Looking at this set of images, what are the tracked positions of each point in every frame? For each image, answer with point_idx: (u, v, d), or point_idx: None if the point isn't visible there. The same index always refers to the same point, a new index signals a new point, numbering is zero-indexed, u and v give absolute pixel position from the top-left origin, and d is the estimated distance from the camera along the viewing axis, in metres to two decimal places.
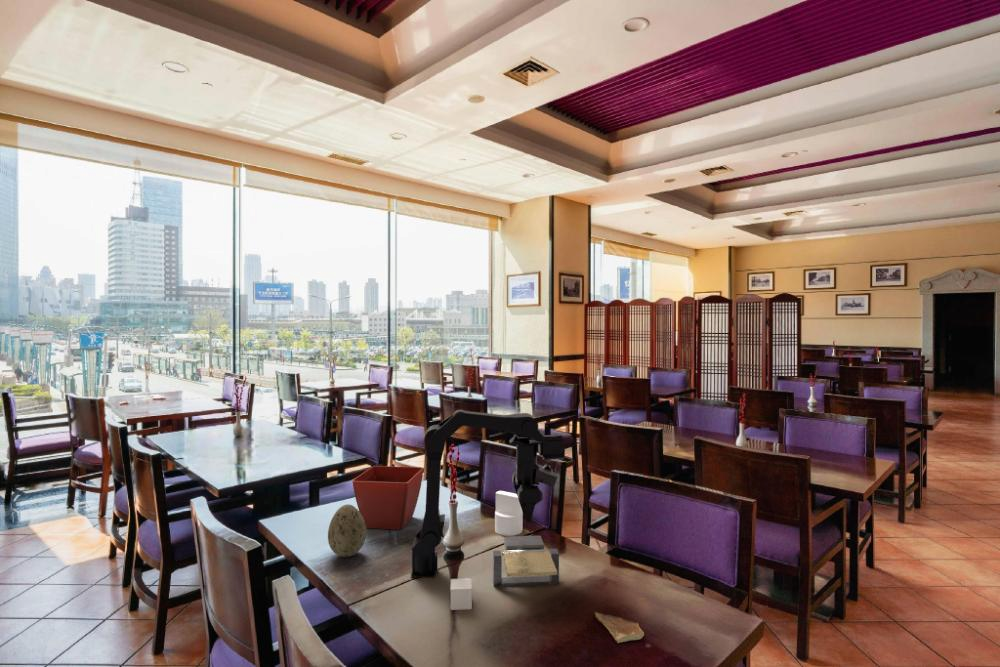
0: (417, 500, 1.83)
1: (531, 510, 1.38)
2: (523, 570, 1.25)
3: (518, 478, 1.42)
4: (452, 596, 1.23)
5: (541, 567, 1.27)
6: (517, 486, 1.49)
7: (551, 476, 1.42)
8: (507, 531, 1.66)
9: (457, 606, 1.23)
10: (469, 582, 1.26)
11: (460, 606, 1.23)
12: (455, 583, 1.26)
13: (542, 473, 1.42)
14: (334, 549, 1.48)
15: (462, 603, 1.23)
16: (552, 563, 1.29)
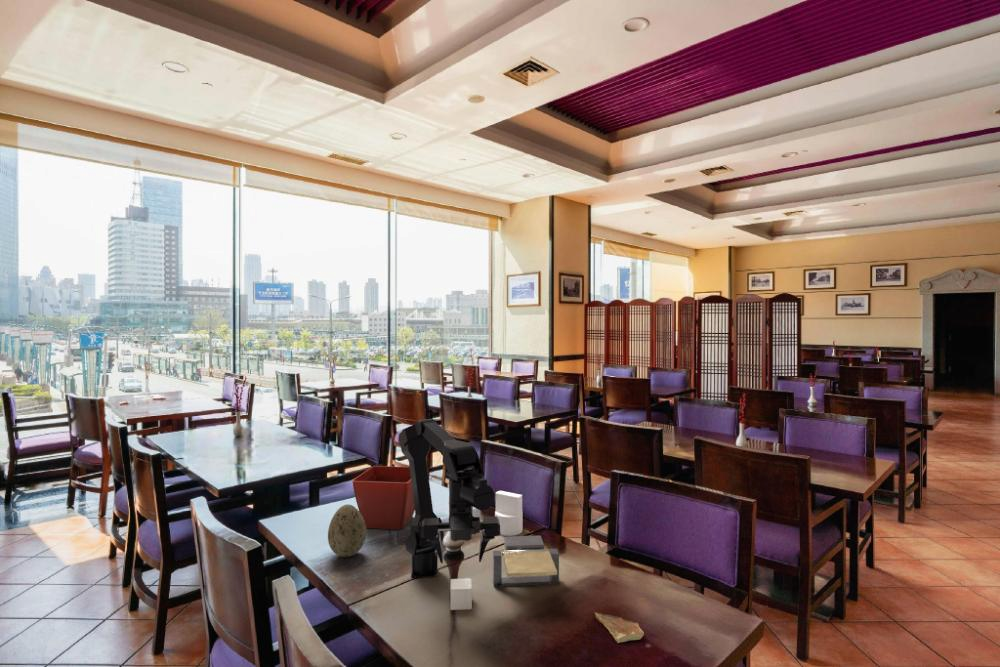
0: None
1: None
2: (523, 570, 1.25)
3: None
4: (452, 596, 1.23)
5: (541, 567, 1.27)
6: (481, 530, 1.28)
7: (450, 525, 1.19)
8: (507, 531, 1.66)
9: (457, 606, 1.23)
10: (469, 582, 1.26)
11: (460, 606, 1.23)
12: (455, 583, 1.26)
13: None
14: (334, 549, 1.48)
15: (462, 603, 1.23)
16: (552, 563, 1.29)
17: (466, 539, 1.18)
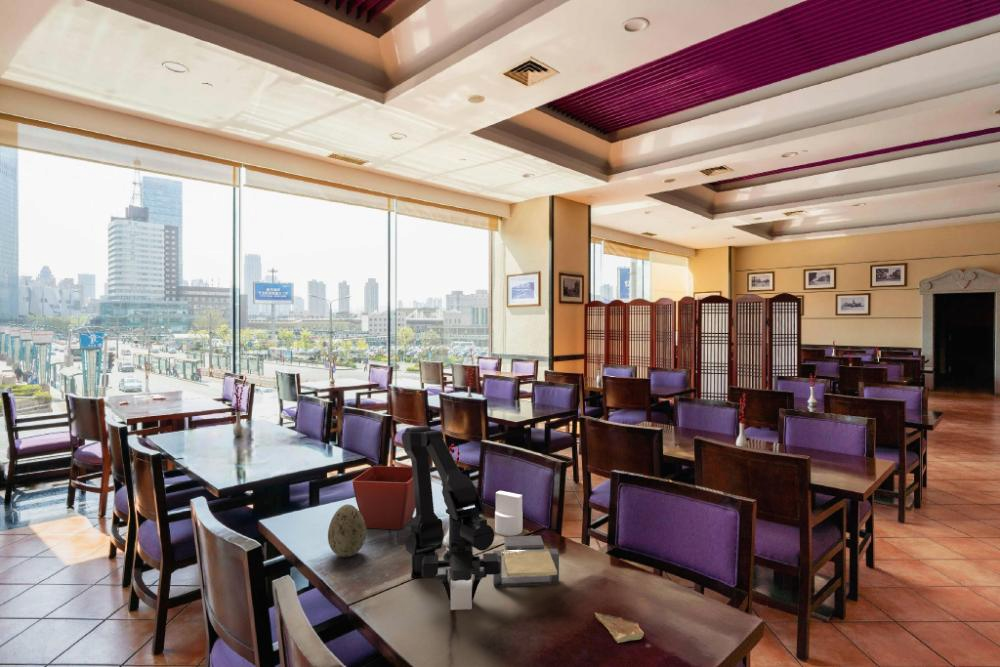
0: None
1: None
2: (523, 570, 1.25)
3: None
4: (452, 596, 1.23)
5: (541, 567, 1.27)
6: None
7: (450, 565, 1.19)
8: (507, 531, 1.66)
9: (457, 605, 1.23)
10: (469, 582, 1.26)
11: (460, 606, 1.23)
12: (455, 583, 1.26)
13: None
14: (334, 549, 1.48)
15: (462, 602, 1.23)
16: (552, 563, 1.29)
17: (466, 579, 1.18)
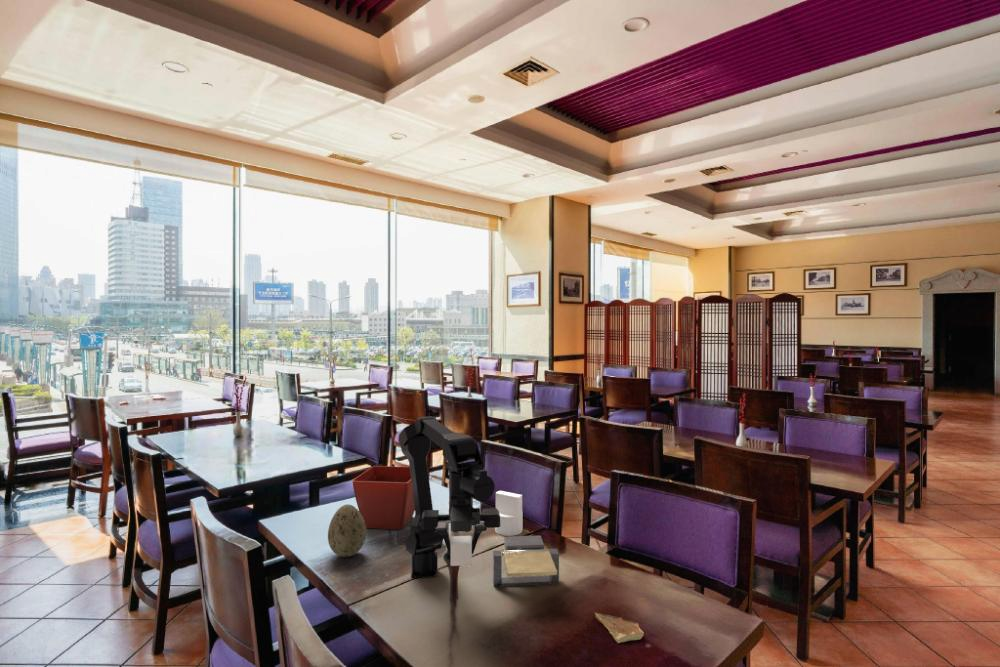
0: None
1: None
2: (523, 570, 1.25)
3: None
4: (452, 551, 1.23)
5: (541, 567, 1.27)
6: None
7: (450, 516, 1.19)
8: (507, 531, 1.66)
9: (457, 561, 1.23)
10: (469, 539, 1.26)
11: (460, 562, 1.23)
12: (455, 539, 1.26)
13: (451, 509, 1.21)
14: (334, 549, 1.48)
15: (462, 558, 1.23)
16: (552, 563, 1.29)
17: (466, 530, 1.18)
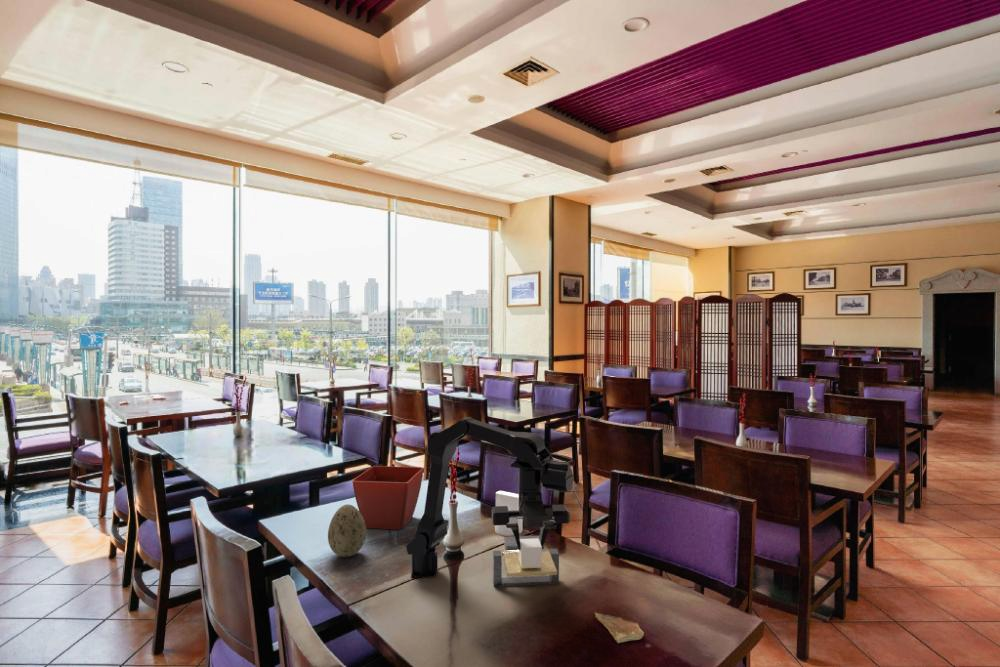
0: (417, 500, 1.83)
1: None
2: (523, 570, 1.25)
3: None
4: (523, 554, 1.25)
5: (541, 567, 1.27)
6: None
7: (524, 512, 1.21)
8: (507, 531, 1.66)
9: (527, 564, 1.25)
10: (538, 541, 1.28)
11: (530, 564, 1.25)
12: (524, 542, 1.28)
13: (523, 505, 1.23)
14: (334, 549, 1.48)
15: (532, 561, 1.25)
16: (552, 563, 1.29)
17: (540, 526, 1.20)
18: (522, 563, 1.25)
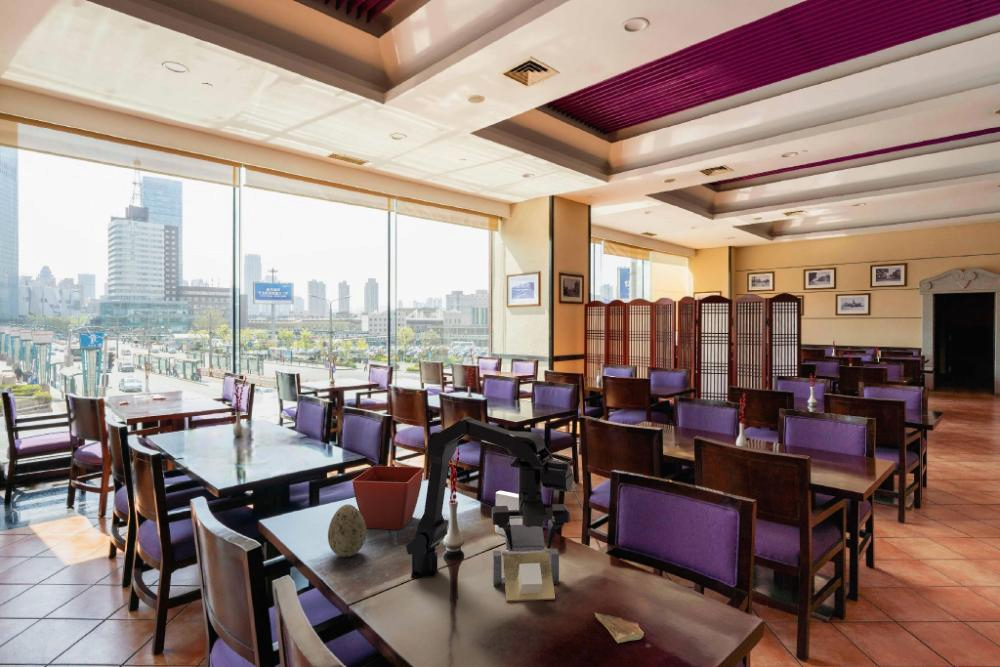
0: (417, 500, 1.83)
1: None
2: (522, 593, 1.27)
3: None
4: (522, 587, 1.25)
5: None
6: None
7: (524, 512, 1.21)
8: None
9: (526, 591, 1.27)
10: (538, 571, 1.27)
11: (529, 591, 1.27)
12: (525, 572, 1.26)
13: (523, 504, 1.23)
14: (334, 549, 1.48)
15: (531, 590, 1.27)
16: (551, 580, 1.30)
17: (540, 525, 1.20)
18: (521, 591, 1.27)
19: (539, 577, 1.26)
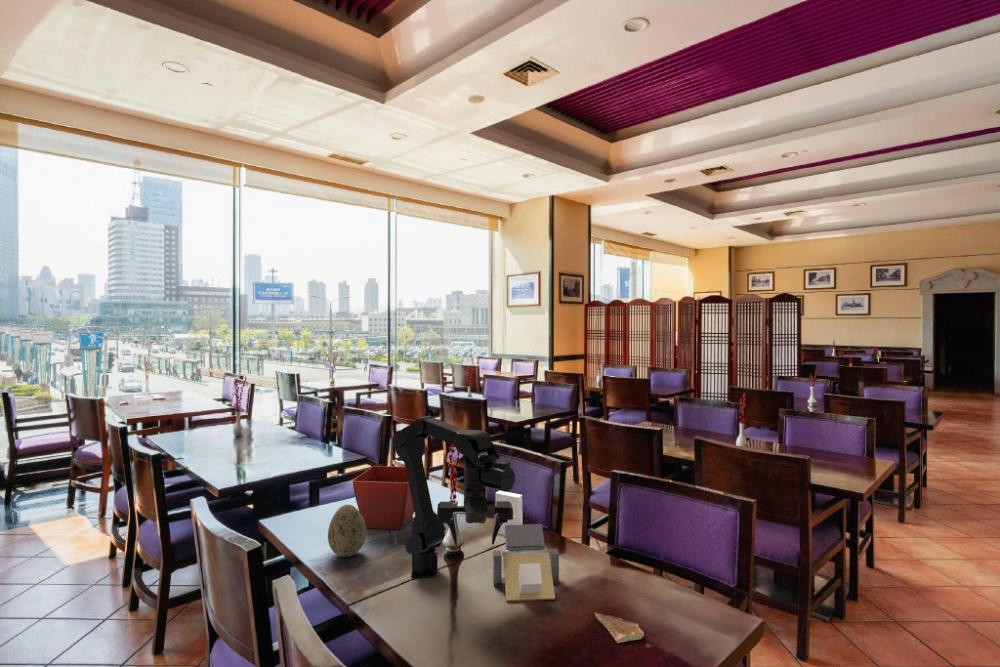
0: None
1: None
2: (522, 593, 1.27)
3: None
4: (522, 587, 1.25)
5: None
6: (494, 514, 1.32)
7: (465, 508, 1.23)
8: None
9: (526, 591, 1.27)
10: (538, 571, 1.27)
11: (529, 591, 1.27)
12: (525, 572, 1.26)
13: (466, 501, 1.26)
14: (334, 549, 1.48)
15: (531, 590, 1.27)
16: (551, 580, 1.30)
17: (481, 522, 1.22)
18: (521, 591, 1.27)
19: (539, 577, 1.26)
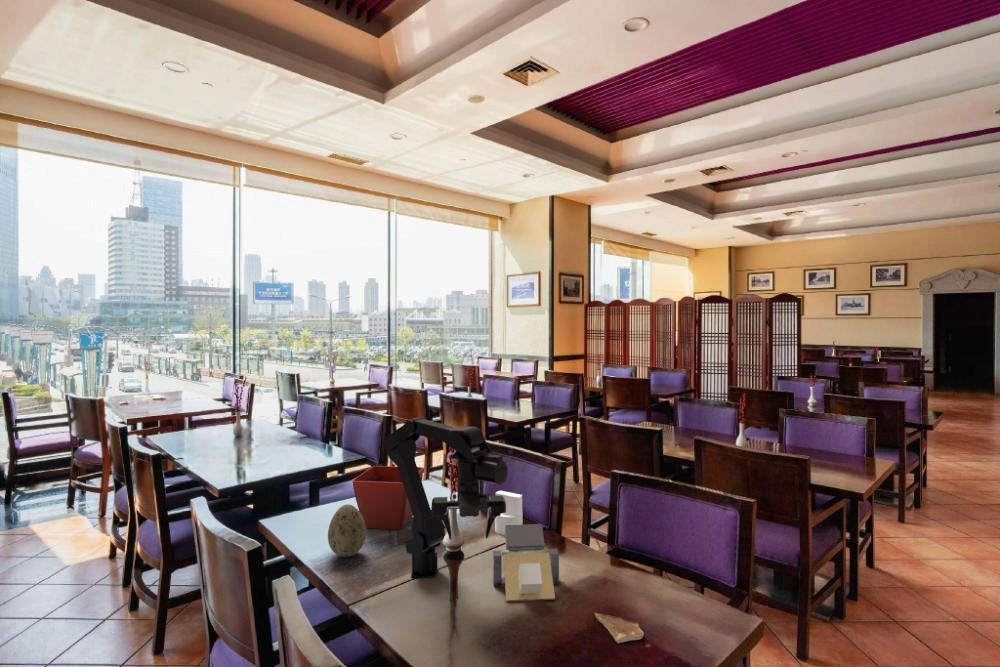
0: None
1: None
2: (522, 593, 1.27)
3: None
4: (522, 587, 1.25)
5: None
6: (488, 509, 1.35)
7: (459, 502, 1.26)
8: None
9: (526, 591, 1.27)
10: (538, 571, 1.27)
11: (529, 591, 1.27)
12: (525, 572, 1.26)
13: (459, 495, 1.28)
14: (334, 549, 1.48)
15: (531, 590, 1.27)
16: (551, 580, 1.30)
17: (474, 515, 1.25)
18: (521, 591, 1.27)
19: (539, 577, 1.26)
